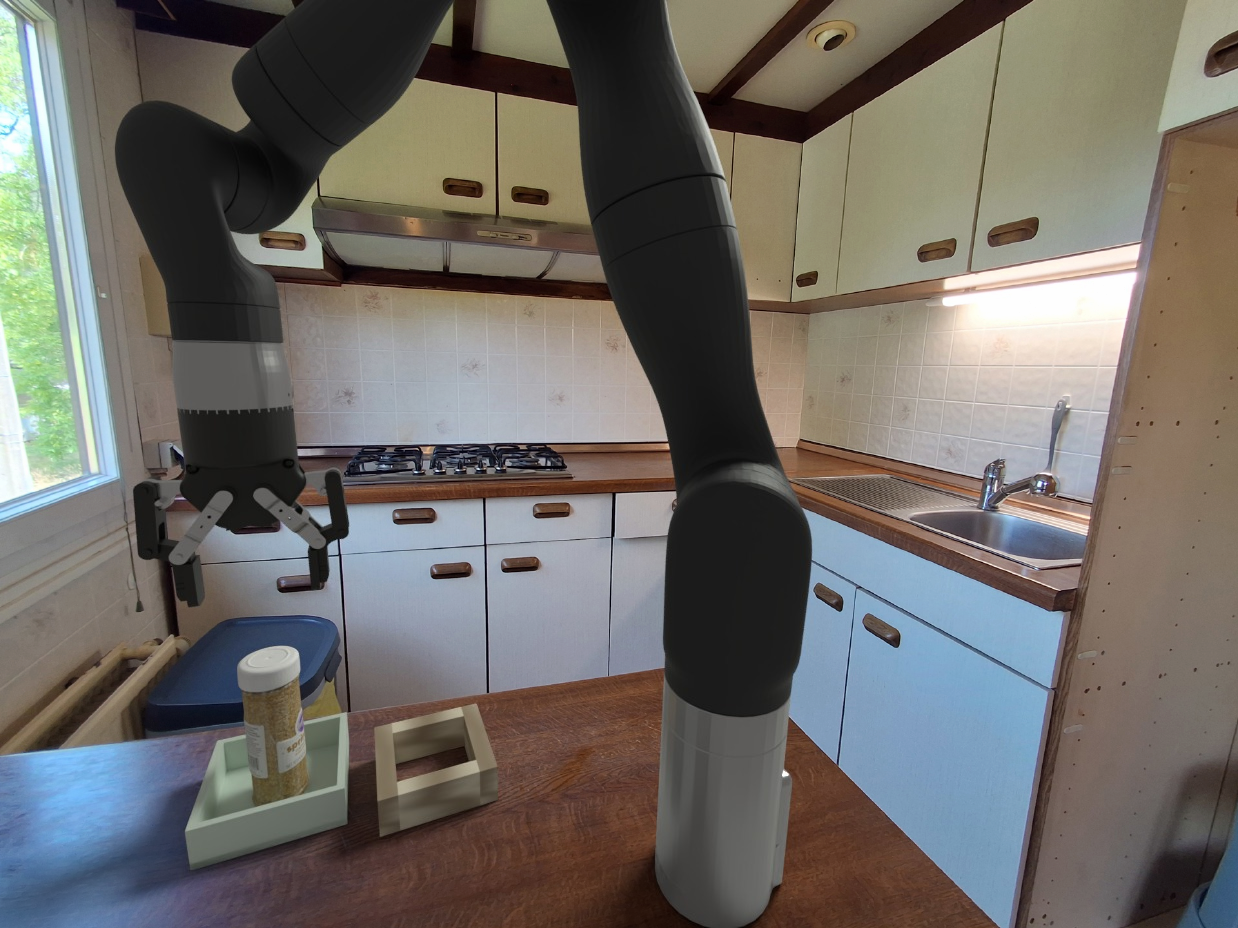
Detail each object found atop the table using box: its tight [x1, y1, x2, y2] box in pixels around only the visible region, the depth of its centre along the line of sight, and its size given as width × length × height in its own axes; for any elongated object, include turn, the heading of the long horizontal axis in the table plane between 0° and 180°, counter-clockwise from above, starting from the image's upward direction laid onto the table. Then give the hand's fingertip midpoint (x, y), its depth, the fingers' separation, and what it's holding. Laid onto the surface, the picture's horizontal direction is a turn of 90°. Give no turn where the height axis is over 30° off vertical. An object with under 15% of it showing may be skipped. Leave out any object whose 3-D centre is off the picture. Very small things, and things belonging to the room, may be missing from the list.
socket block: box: [373, 703, 499, 838], centre depth 52 cm, size 10×10×4 cm
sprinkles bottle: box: [236, 645, 310, 807], centre depth 49 cm, size 5×5×14 cm
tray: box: [184, 711, 350, 872], centre depth 50 cm, size 11×11×4 cm
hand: (259, 594), depth 46 cm, fingers open, 8 cm apart
